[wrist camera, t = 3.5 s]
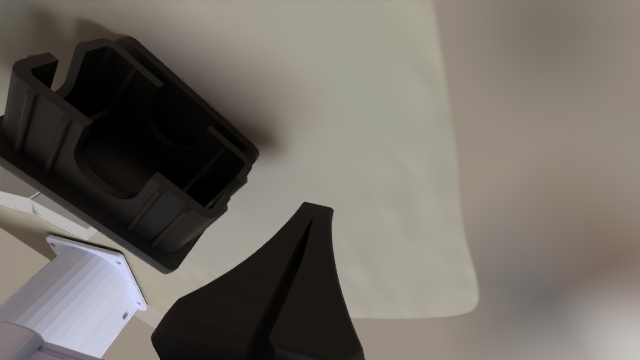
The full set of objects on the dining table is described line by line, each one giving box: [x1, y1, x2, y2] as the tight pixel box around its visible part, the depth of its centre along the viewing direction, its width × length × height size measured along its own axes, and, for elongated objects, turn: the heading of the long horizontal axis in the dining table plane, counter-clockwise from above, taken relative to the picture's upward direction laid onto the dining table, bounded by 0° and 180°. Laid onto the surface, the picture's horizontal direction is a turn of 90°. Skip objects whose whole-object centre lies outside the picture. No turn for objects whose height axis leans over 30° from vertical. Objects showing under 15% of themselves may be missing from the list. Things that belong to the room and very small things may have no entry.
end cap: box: [0, 37, 259, 274], centre depth 16 cm, size 10×7×7 cm
